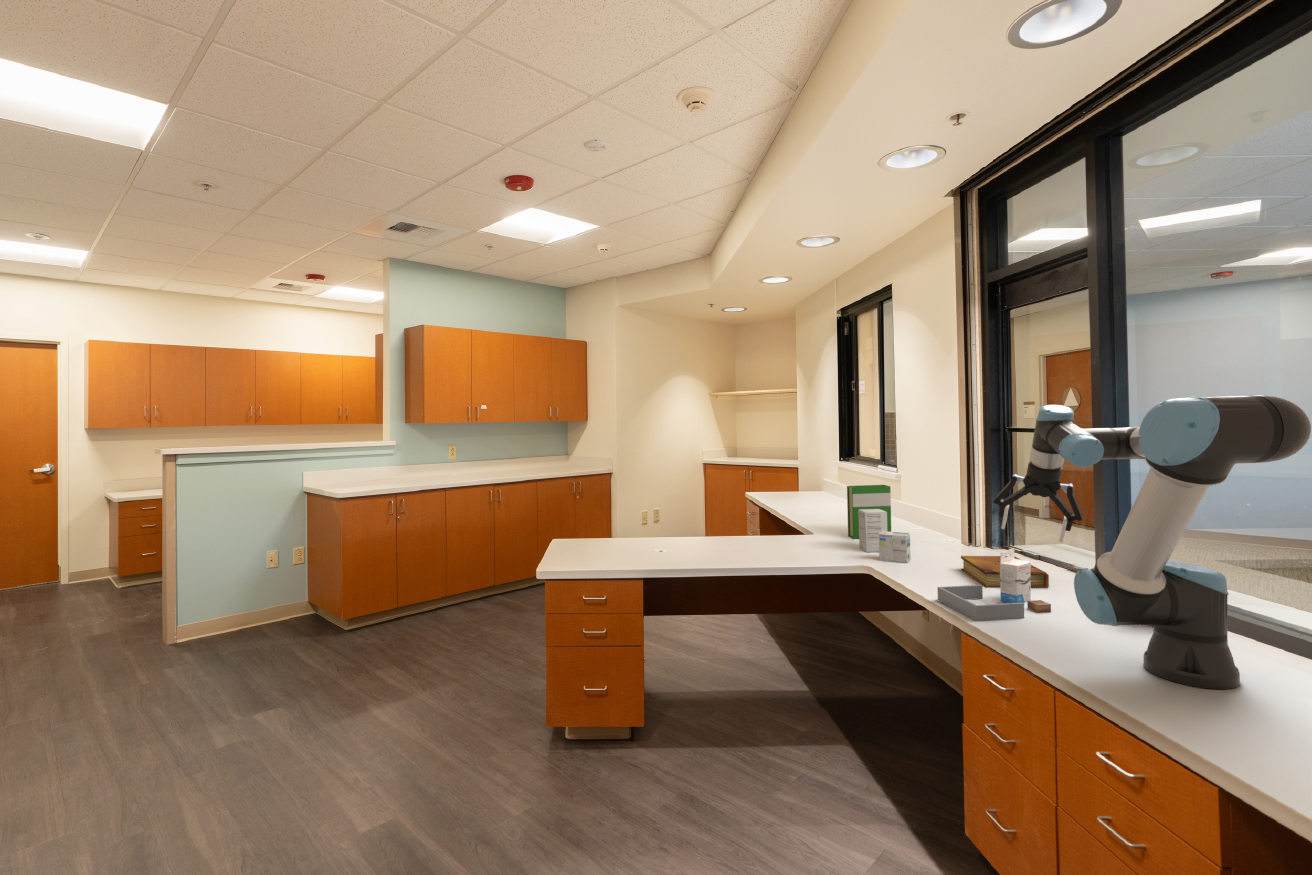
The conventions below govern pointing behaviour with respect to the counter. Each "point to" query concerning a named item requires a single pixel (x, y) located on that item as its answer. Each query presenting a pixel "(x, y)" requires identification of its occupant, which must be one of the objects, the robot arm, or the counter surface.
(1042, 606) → the walnut block
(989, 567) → the diary
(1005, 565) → the ink box
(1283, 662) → the counter surface
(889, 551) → the light bulb box
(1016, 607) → the tray
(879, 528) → the supplement box
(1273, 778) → the counter surface
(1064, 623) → the counter surface
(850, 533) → the hardback book
